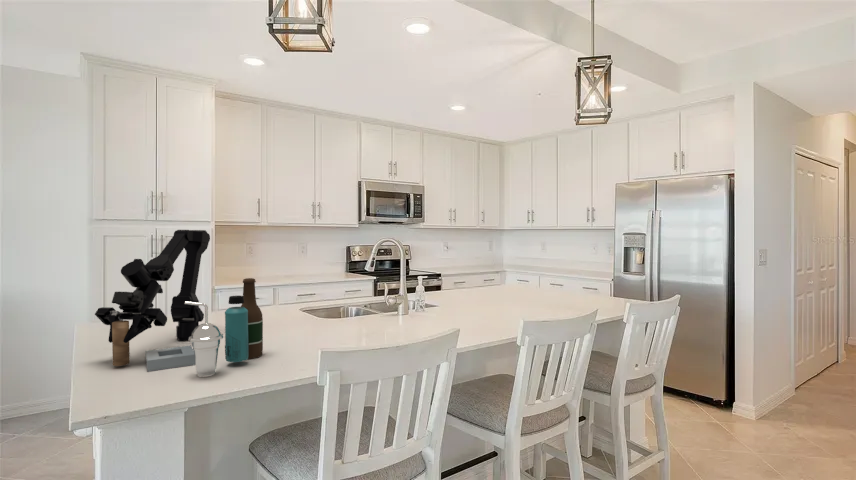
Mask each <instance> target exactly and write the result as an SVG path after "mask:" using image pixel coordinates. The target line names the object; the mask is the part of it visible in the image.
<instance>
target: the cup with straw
mask: <svg viewBox="0 0 856 480" xmlns="http://www.w3.org/2000/svg"><path fill="white" fill-rule="evenodd" d="M185 304H190V305H199V307H204V323H201V324H199V326H197V327H196V328H195V329H194V331H193V333H192V335H191V336H190V337H189V340H188V341H189V342H190V343H191V347H192V349H193V350H194V356H195V364H196V365H195V372H196V373H197V374H196V377H198V378H199V377H200V378H206V377H211V376H214V375H215V374H216V369H217V363H218V356H219V347H220V345H221V340H222V339H223V338H224V334H223V333H222V332H221V331H220V329H219V328H218V326H217V325H216V324H214V323H210V322H209V311H208V309H209V308H208V307H209V306H208V305H207V304H206V303H204V302H199V303H196V302H187V301H185Z"/></svg>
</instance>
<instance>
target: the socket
mask: <svg viewBox="0 0 856 480" xmlns="http://www.w3.org/2000/svg"><path fill="white" fill-rule="evenodd" d="M144 353H145V356H144V358H145V361H144V362H145V367H146V371H147V372H148V373H149V372H153V371H154V372H155V371H160V370H169V369H174V368H175V369H176V368H181V367H188V366H196V364H195V356H194V350H193V347H192V344H191V345H183V346H182V345H181V346H175V347H174V346H173V347H166V348H157V349H149V350H145V351H144Z"/></svg>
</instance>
